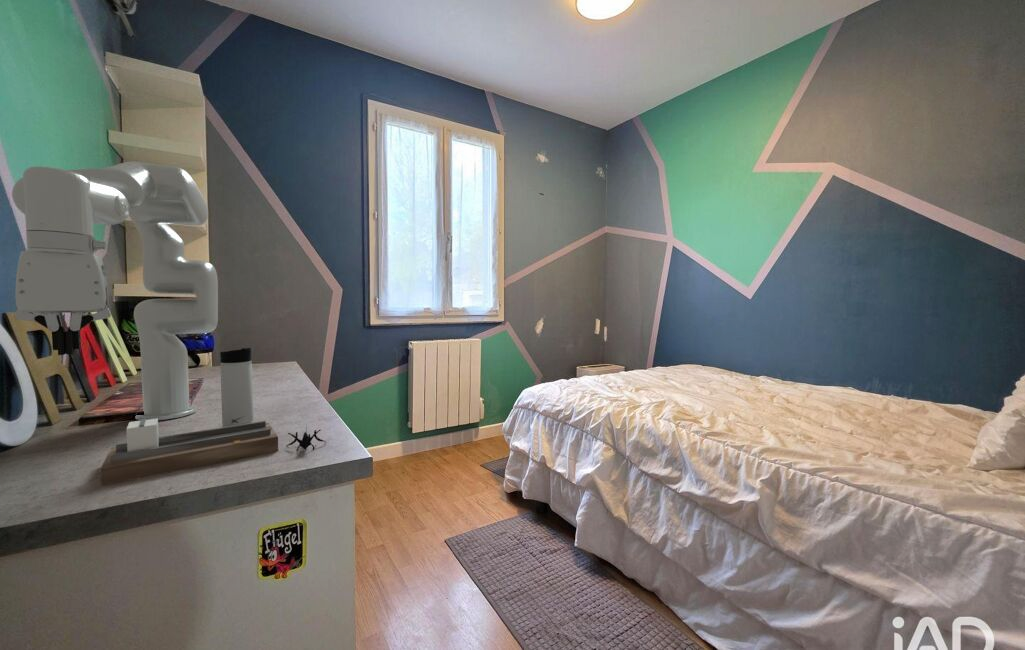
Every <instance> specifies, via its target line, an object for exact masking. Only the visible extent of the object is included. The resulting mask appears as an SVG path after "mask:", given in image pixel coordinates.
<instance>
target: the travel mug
mask: <svg viewBox="0 0 1025 650" xmlns="http://www.w3.org/2000/svg"><path fill="white" fill-rule="evenodd" d="M219 356H220V357H219V358H220V362H219V364H220V394H221V396H220V397H221V400H220V401H221V423H222V425H221V426H222V427H228V426H235V425H241V424H248V423H254V396H253V392H254V391H253V365H252V362H253V361H252V348H251V347H242V348H240V349H233V350H227V351H220V353H219ZM222 427H221V428H222Z"/></svg>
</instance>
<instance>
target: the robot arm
mask: <svg viewBox="0 0 1025 650" xmlns="http://www.w3.org/2000/svg"><path fill="white" fill-rule="evenodd" d="M11 196H12V200H13V202H14V205H15V207H16V208H17V210H19V211H20V212H21V213H23V214H24V216H25V236H26V237H25V239H26V250H22V251H20V254H19V259H18V263H17V269H16V278H15V290H14V291H15V294H14V295H15V305H16V307H17V308H16V311H15V315H14V318H15V319H16V320H20V321H26V322H27V321H28V322H33V323H35V322H36V323H37V324H39V325H41V326H43V327H45V329H47V330H48V331H50V332H51V342H52V346H51V347H52V350H53V351H57V355H58V356H63V355H69V356H71V355H72V356H73V355H75V354H77V350H81V348H82V339H81V330H83V329H84V328H85V327H87V326H88V325H89V324H91V322H94V321H100V320H104V319H105V320H106V319H109V318H110V317H111V313H110V310H109V303H110V301H109V300H110V299H109V290H108V281H107V280H108V279H107V274H106V269H105V265H104V262H103V258H102V256H100V255H95V254H96V252H97V251H98V250H99V251H100V250H107V245H106V241H100V240H97V239H96V238H95V237H94V236H95V235H94V225H101V226H113V225H114V226H115V225H118V224H122V223H124V222H125V221H126V220H127V219H128V217H129V219H130V220H131V221H132V223H133V224H134V227H135V228H136V229H137V231H138V234H139V235H140V237H141V241H142V281H143V286H144V288H145V289H146V290H147V291H148V292H151V293H153V294H160V295H161V294H163V295H194V296H195V298H150V299H145V300H142V301H141V302H139V303H137V304H136V306H135V307H134V310H133V319H134V323H135V326H136V330H137V333H138V339H139V340H138V341H139V348H140V350H139V351H140V366H141V367H140V368H141V388H142V389H141V392H142V393H141V394H142V411H144V415H136V414H135V415H136V416H135V418H134V419H135V420H136V421H141V420H142V419H146V420H149V419H157V418H158V421H164V420H170V419H171V420H172V419H177V418H178V419H179V418H182V417H186V416H190V415H192V414H194V413H196V412H197V406H196V405H193V404H192V405H191V404H190V390H189V389H190V388H189V386H190V385H189V384H190V383H189V362H188V361H189V360H188V358H189V356H188V349H187V347H186V344H184V343H183V341H181V339H180V338H179V337H178V336H177V335H184V334H186V335H187V334H191V335H193V334H194V335H195V334H196V335H197V334H208V333H212V332H214V330H216V328H217V327H218V323H219V322H218V321H219V279H218V273H217V270H216V268H215V266H214V265H213V264H212V263H210V262H209V261H205V260H198V259H197V260H196V259H195V260H194V259H186V258H185V242H184V240H183V239H182V238H181V236H180V235H179V234H178V233H177V232H176V231H175V230H174V229H173V228H172V227H170V226H169V225H180V226H181V225H183V226H194V227H195V226H196V227H197V226H201V225H204V224H205V223H207V220H208V217H209V208H208V205H207V202H206V200H205V198H204V196H203V194H202V192H201V191H200V189H199V187H198V185H197V183H196V182H195V180H194V178H192V176H191V175H190V174H189V172H188V171H186V170H185V169H183V168H181V167H179V166H174V165H169V164H168V165H167V164H157V163H149V162H141V161H125V162H122V163H117V164H115V165H112V166H108V167H107V166H106V167H103V168H98V167H97V168H96V167H95V168H79V169H78V168H77V169H65V168H64V169H63V168H58V167H49V166H41V165H40V166H39V165H38V166H29V167H28V168H25V170H24V171H23V173H22V177H21V178H19V179H17V181H16V182H15V184H14V185H13V187H12V192H11ZM38 313H39V314H38ZM41 313H42V314H41ZM60 313H61V314H62V313H64V314H65V313H69V314H70V313H71V317H70V322H69V323H70V324H69V326H68V327H67V330H66V329H65V328H66V327H65V326H63V323H62V318H61V315H60ZM86 313H90V314H86Z"/></svg>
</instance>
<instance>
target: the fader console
mask: <svg viewBox="0 0 1025 650" xmlns="http://www.w3.org/2000/svg"><path fill="white" fill-rule="evenodd" d="M277 451H278V452H279V436H278V434H277V433H276V432H275V430H274V429H273V427H272V426H271V424H270V422H266V420H261V421H256V422H255V421H253V423H248V424H241V425H235V426H228V427H217V428H210V429H204V430H197V431H191V432H184V433H177V434H171V435H164V436H159V446H158V447H154V448H148V449H142V450H136V451H130V452H127V441H126V442H119V443H116V444H115V447H110V449H109V451H108V453H107V454H106V455H107V456H106V457H105V459H104V461H103V463H102V465H101V467H100V482H101V486H108V485H113V484H119V483H123V482H128V481H133V480H137V479H142V478H146V477H153V476H158V475H162V474H167V473H172V472H177V471H183V470H188V469H193V468H198V467H203V466H208V465H212V464H218V463H222V462H223V463H224V462H227V461H233V460H238V459H243V458H248V457H253V456H254V457H255V456H257V455H263V454H268V453H273V452H277Z"/></svg>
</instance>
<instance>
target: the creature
mask: <svg viewBox="0 0 1025 650" xmlns="http://www.w3.org/2000/svg"><path fill="white" fill-rule="evenodd" d="M305 427H306V428H305V431H304V432H303V435H302V439H299V438H298V437H299V436H298V431H296V432H295V434H292V433H291V432H288V433H287V434H288V435H290V436H291V437H292V438H294V440H292V441H291V442H290V443H288V444H287V445H285V447H286V448H288V447H289V446H291V445H294V444H295V443H296V442H297V443H298V444H299V445H298V446H297V447H296V452H299V449H300V447H301V448H302V449H304V450H305V451H306V450H307V449H308V447H310V446H312V449H313V450H315V449H316V446H314V445H313V444H312V440H313V438H315V440H316V441H317V442H324V444H326V443H327V441H326V440H323V439H321V438H320V437H318V436H317V434H318V433H319V432H321V430H322V429H319V430H316V429H315V430H314V431H313V432H314V433H313V434H312V435H311V434H310V433H307V427H308V426H307V424H306V426H305ZM314 448H315V449H314Z"/></svg>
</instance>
